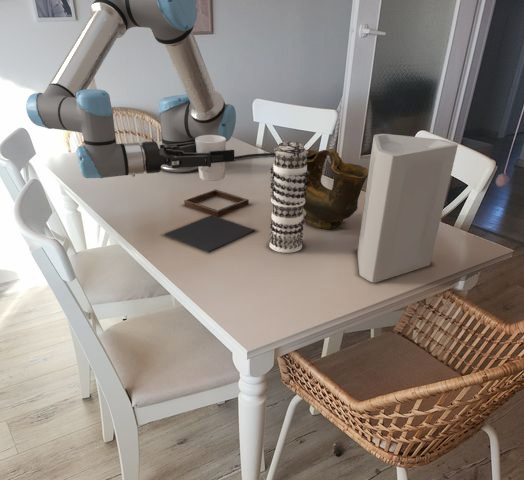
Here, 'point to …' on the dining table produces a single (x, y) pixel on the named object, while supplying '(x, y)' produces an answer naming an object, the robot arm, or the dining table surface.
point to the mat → (209, 233)
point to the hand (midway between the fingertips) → (228, 151)
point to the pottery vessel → (331, 201)
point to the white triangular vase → (403, 204)
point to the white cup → (205, 146)
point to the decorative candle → (288, 196)
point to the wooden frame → (193, 204)
